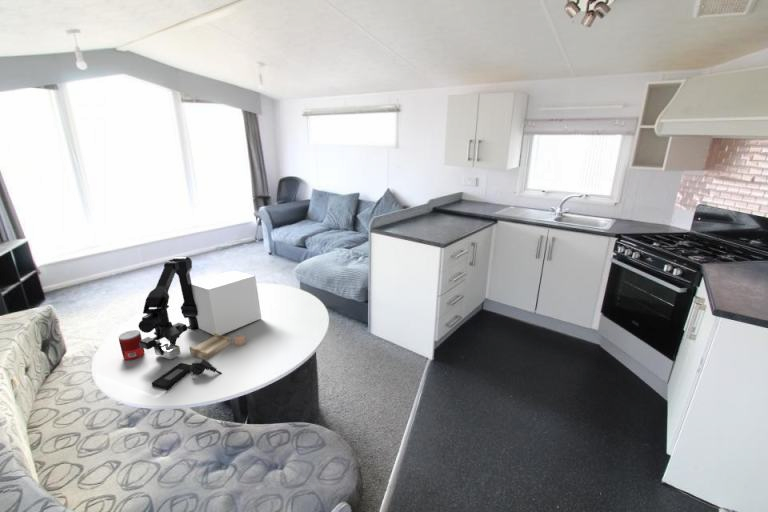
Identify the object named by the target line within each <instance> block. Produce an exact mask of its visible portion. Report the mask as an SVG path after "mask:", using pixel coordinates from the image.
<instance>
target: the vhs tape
mask: <svg viewBox="0 0 768 512" xmlns="http://www.w3.org/2000/svg"><path fill="white" fill-rule="evenodd" d="M191 365H192V364H189V363H183V362H180V363H178V364H176V366H174V367H172V368H171V369H170V370H168V371H167V372H165V373H164V374H162V375H161V376H159V377H158V378H157V379H155V380H154V381H152V382H151V386H152V387H153V388H156V389H157V388H158V389H162V390H165V391H168V390H170V389H171V388H173V387H174V386H175V385H177V383H179V381H181V380H183V379H184V378H185V377H186V376H187V375H189V374H190V373H192V372H191V371H190V369H189V368H190V366H191Z"/></svg>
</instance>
